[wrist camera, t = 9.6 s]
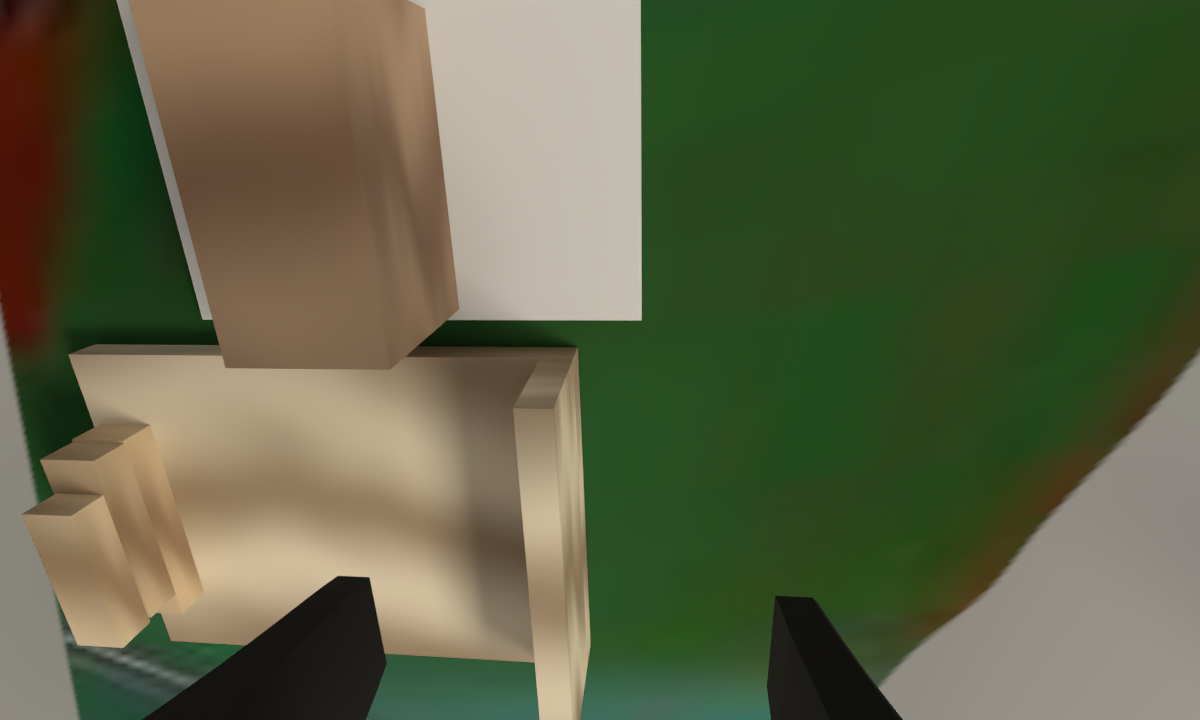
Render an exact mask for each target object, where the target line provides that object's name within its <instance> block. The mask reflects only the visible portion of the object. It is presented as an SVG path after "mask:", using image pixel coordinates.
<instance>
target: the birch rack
mask: <svg viewBox="0 0 1200 720" xmlns="http://www.w3.org/2000/svg"><path fill="white" fill-rule="evenodd" d="M68 355H69V358H70V361H71V363H72V366H73V369H74V372H75V374H76V377H77V380H78V383H79V386H80V388H81V391H82V394H83V397H84V400H85V402H86V405H87V408H88V411H89V413H90V416H91V419H92V422H93V425H94V427H97V426H99V425H100V424H124V425H151V429H152V432H153V435H154V438H155V441H156V444H157V447H158V450H159V453H160V456H161V460H162V463H163V466H164V469H165V472H166V475H167V478H168V481H169V484H170V488H171V491H172V494H173V497H174V500H175V503H176V506H177V509H178V512H179V515H180V519H181V522H182V525H183V528H184V531H185V534H186V537H187V540H188V543H189V546H190V550H191V553H192V556H193V559H194V562H195V565H196V568H197V571H198V574H199V578H200V581H201V584H202V587H203V590H204V593H203V594H202V595H201V596H200V597H199V598H198V599H197V600H196V601H195V602H194V603H193V604H192V605H191V606H190V607H189V608H188V609H187V610H186V611H185V612H184V613H183V614H169V613H161V614H162V617H163V620H164V622H165V625H166V628H167V631H168V634H169V636H170V639H171V641H182V642H199V643H216V644H233V645H247V644H248V643H250V642H251V641H252V640H254V639H255V638H256V637H258V636H259V635H260V634H262V633H263V632H264V631H266V630H267V629H268V628H269V627H271V626H272V625H273V624H275V623H276V622H277V621H279V620H280V619H281V618H282V617H284V616H285V615H286V614H288V613H289V612H290V611H291V610H293V609H294V608H295V607H297V606H298V605H299V604H300V603H302V602H303V601H304V600H306V599H307V598H308V597H310V596H311V595H312V594H314V593H315V592H316V591H317V590H319V589H320V588H322V587H323V586H324V585H326V584H327V583H328V582H330V581H331V580H333V579H334V578H335V577H337V576H353V577H370V582H371V587H372V592H373V597H374V602H375V607H376V612H377V617H378V622H379V627H380V632H381V637H382V642H383V647H384V652H385V654H402V655H418V656H435V657H452V658H469V659H486V660H503V661H520V662H535V670H536V682H537V693H538V705H539V716H540V720H580V715H581V708H582V701H583V694H584V686H585V679H586V672H587V665H588V658H589V651H590V621H589V598H588V575H587V552H586V528H585V505H584V482H583V459H582V436H581V413H580V390H579V366H578V347H455V346H417V347H416V348H414V349H413V350H412V351H411V352H410V353H409V354H408V355H406V356H405V357H404V358H403V359H402V360H401V361H400V362H398V363H397V364H396V365H395V366H394V367H393V368H392V369H390V370H360V369H253V368H225V364H224V361H223V357H222V353H221V349H220V346H219V345H127V344H95V345H92V346H89V347H87V348H84V349H82V350H79V351H76V352H74V353H71V354H68Z"/></svg>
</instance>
